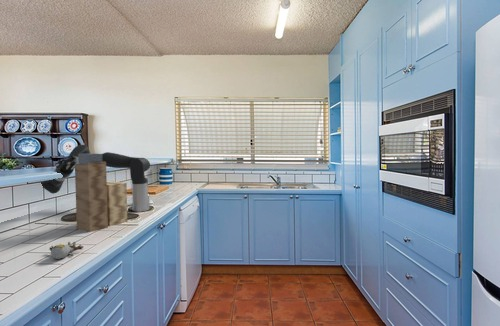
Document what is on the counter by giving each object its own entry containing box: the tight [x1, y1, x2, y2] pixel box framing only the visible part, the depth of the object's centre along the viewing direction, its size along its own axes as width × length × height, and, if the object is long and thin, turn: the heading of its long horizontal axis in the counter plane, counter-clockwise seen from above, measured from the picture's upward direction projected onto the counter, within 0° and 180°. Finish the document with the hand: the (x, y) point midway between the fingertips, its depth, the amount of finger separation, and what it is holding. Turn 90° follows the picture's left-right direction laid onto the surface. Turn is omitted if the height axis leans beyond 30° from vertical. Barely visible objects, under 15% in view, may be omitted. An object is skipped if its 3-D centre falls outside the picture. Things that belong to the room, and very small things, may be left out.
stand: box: [74, 162, 109, 233], centre depth 150 cm, size 9×12×33 cm
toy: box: [49, 241, 84, 260], centre depth 115 cm, size 12×5×15 cm
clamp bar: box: [72, 153, 103, 165], centre depth 153 cm, size 7×22×5 cm, turn 57°
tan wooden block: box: [107, 181, 128, 227], centre depth 162 cm, size 10×12×21 cm
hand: (76, 156), depth 156 cm, fingers closed on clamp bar, 2 cm apart
